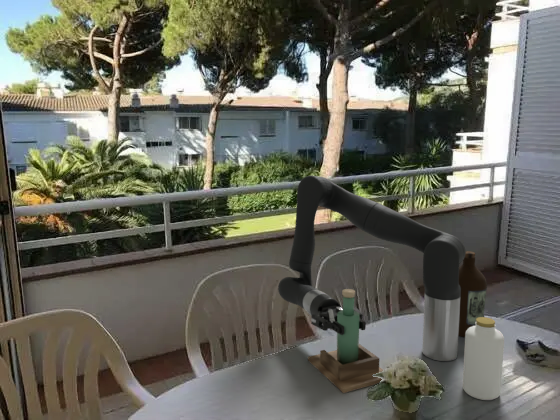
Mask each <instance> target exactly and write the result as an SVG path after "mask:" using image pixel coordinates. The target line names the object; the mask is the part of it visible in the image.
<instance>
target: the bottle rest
mask: <svg viewBox="0 0 560 420" xmlns="http://www.w3.org/2000/svg"><path fill="white" fill-rule="evenodd" d="M307 361H308V362H309V363H310V364H312V366H313V367H315V368H316V369H317V370H318V371H319V372H320V373H321V374H322V375H323V376H324V377H325V378H326V379H327V380H328V381H330V382H331V383H332V384H333V385H334V386H335V387H336V388H337V389H338V390H339V391H340V392H341V393H343V394H345V393H349V392H352V391H353V392H354V391H356V390H359V389H362V388H367V387H370V386H373V385H374V386H375V385H377V383H378V384H380V383H379V382H380V381H381V380H382V379H381V378H378V377H373V376H372V375H373V374H376V373H379V372H382V371H383V370H384V369H383V368H382V367H380V357H378V356H377V355H376V354H374V353H373V352H371V351H370V350H369V349H367V348H365V347H364V346H363V345H361V344H360V343H359V361H356V362H352V363H348V364H344V365H342V364H341V363H340V362H338V361H337V349H336V350H331V351H327V350H325V349H322V350H320V352H319V353H318V354H314V355H311V356H308V357H307Z"/></svg>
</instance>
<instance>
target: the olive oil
mask: <svg viewBox="0 0 560 420" xmlns="http://www.w3.org/2000/svg"><path fill="white" fill-rule="evenodd" d="M459 285H460V287H461V295H460V315H459V333H458V337H460V338H462V337H463V338H465V333H466V330H467V329H468V328H469V327H472V326H476V325H475V322H476V319H477V318H478V317H485V315H484V313H485V305H486V296H487V288H488V285H487V279H486V276H485V275H484V273H482V271H481V270H480V269H479V268H478V267H477V266H476V253H475V252H474V251H470V250H469V251H468V250H467V251H466V254H465V257H464V259H463V261H462V264H461V265H459Z"/></svg>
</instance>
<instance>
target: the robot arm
mask: <svg viewBox="0 0 560 420" xmlns="http://www.w3.org/2000/svg"><path fill="white" fill-rule="evenodd" d="M296 191H297V193H296V210H295V211H296V212H295V213H296V214H295V227H294V235H293V242H292V247H291V252H290V256H289V261H288V266H289V269H291V270H292V271H295V272H298V273H299V277H295V276H294V277H291V276H287V277H284V278H282V279H281V280H280V281H279V283H278V288H277V290H278V293H279V296H280V297H281V298H282V299H283V300H284V301H286V302H288V303H290V304H293V305H296V306H298V307H300V308H301V309H303V310H304V311H306V313H308V315H310V317H311V320H310V321H311V324H312V325H313V326H315V327H317V328H319V329H320V330H321V331H324V332H325V331H328V329H329V330H330V331H334V332H335V333H336V334H337V333H339V334H340V335H344V326H343V325H341V324H340V323H338V322H337V313H338V312H339V311H342V310H343V306H341V305H340V303H339V301H338V300H337V299H335V298H333V297H332V296H330V295H329V294H327V293H325V292H324V291H321V290H319V289H317V288H316V287H314V286H313V281H312V264H313V260H314V255H315V254H314V253H315V248H316V237H315V236H316V235H315V219H316V215H317V210H318V208H319V207H322V208H324V209H328V210H330V211H333V212H335V213H338V214H340V215H341V216H342V217H344V218H346V219H347V220H348V221H349V222H350V223H351V224H352V225H354V226H355V227H357V228H358V229H360V230H362V231H363V232H365V233H367V234H369V235H371V236H373V237H375V238H377V239H380V240H383V241H386V242H390V243H395V244H400V245H404V246H408V247H410V248H413V249H415V250H417V251H419V252H421V253H423V257H422V258H423V259H422V282H423V283H422V284H423V287H424V302H423V305H424V306H423V325H422V326H423V327H422V349H421V351H422V354H423V355H424V356H425V357H426V358H429V359H430V360H435V361H439V362H451V361H454V360H456V359H457V358H458V348H459V336H458V333H459V315H460V295H461V287H460V285H459V267H460V264H461V263H463V259H464V257H465V254H466V247H465V244H464V242H462V241H461V240H460V238H458V237H457V236H455V235H452V234H450V233H448V232H445V231H442V230H439V229H436V228H433V227H430V226H427V225H424V224H422V223H421V222H417V221H416V220H414V219H413V218H410V217H409V216H407V215H404V214H401V213H400V212H398V211H396V210H394V209H391V208H390V207H388V206H386V205H384V204H382V203H379V202H376V201H374V200H371V199H369V198H367V197H364V196H361V195H358V194H355V193H352V192H350V191H348V190H346V189H345V188H343V187H342V186H340V185H338V184H336V183H334V182H333V181H331V180H329V178H326V177H323V176H318V175H307V176H305V177H303V178H302V179H301V180H300V181H299V183H298V186H297V190H296ZM354 311H356V312H358V313H359V330H361V331H364V330H366V326H367V325H366V324H367V323H366V321H365V320H363V317H364V313H363V312H361V310H359V308H357V307H356V306H354Z"/></svg>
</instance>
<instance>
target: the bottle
mask: <svg viewBox="0 0 560 420" xmlns="http://www.w3.org/2000/svg"><path fill="white" fill-rule="evenodd" d="M341 292H342V295H341V296H342V308H343V310H342V311H339V312H338V313H337V322H338V323H340V324H341V325H343V326H344V335H340V334H339V333H337V332H336V350H337V361H338V362H340V363H341V364H342V365H344V364H348V363H352V362H356V361H359V344H360V329H359V313H358V312H356V311H354V307H355V297H356V290H355V289H352V288H345V289H342V291H341Z"/></svg>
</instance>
